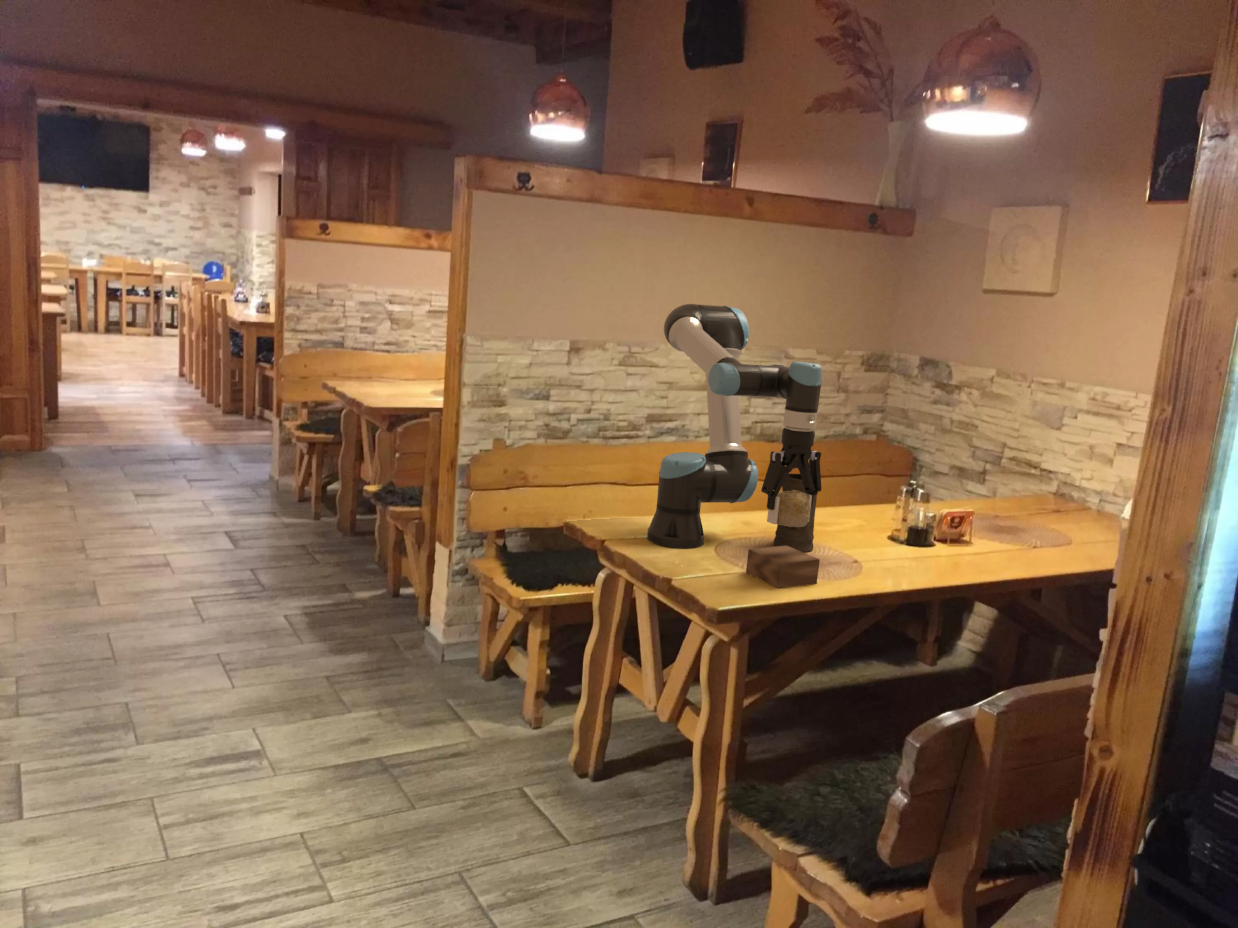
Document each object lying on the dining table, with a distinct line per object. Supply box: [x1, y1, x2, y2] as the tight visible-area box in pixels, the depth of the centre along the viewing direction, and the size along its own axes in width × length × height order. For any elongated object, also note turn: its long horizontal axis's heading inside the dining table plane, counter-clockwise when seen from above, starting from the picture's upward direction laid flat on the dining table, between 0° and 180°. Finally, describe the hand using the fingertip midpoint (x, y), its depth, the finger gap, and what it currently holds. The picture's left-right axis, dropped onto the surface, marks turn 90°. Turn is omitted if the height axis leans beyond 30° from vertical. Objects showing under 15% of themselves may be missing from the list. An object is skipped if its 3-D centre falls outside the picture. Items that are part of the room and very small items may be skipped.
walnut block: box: [745, 546, 821, 589], centre depth 234 cm, size 12×12×6 cm
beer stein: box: [772, 472, 818, 553], centre depth 264 cm, size 15×11×20 cm
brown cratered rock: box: [776, 490, 810, 527], centre depth 231 cm, size 9×9×8 cm
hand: (788, 521), depth 232 cm, fingers closed on brown cratered rock, 9 cm apart
